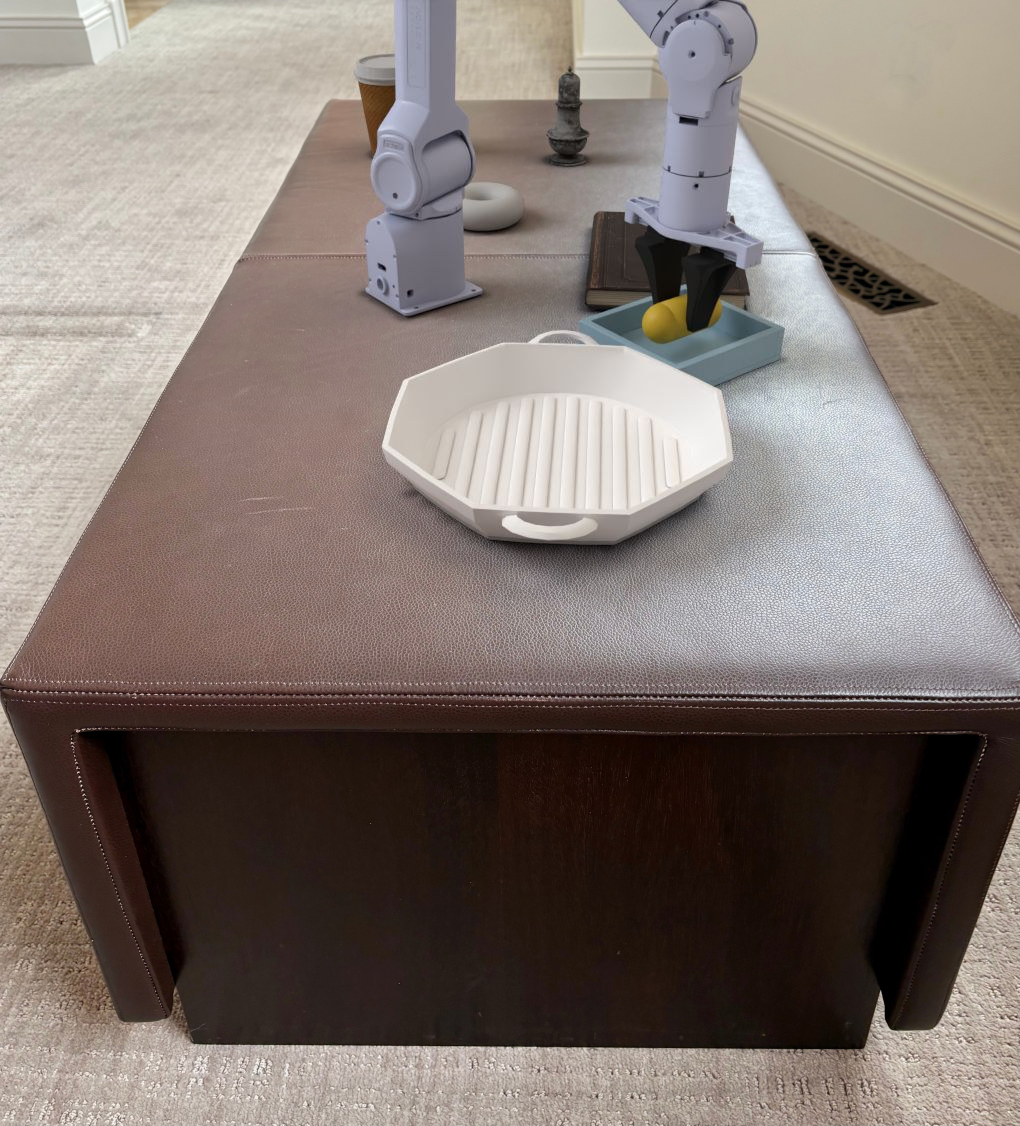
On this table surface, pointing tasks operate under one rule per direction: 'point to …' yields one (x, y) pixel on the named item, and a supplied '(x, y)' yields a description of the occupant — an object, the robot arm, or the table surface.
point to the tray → (694, 341)
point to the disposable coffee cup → (376, 90)
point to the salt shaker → (568, 124)
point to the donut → (491, 206)
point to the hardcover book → (633, 266)
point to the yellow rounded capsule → (672, 320)
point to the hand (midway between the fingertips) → (681, 320)
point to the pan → (559, 440)
